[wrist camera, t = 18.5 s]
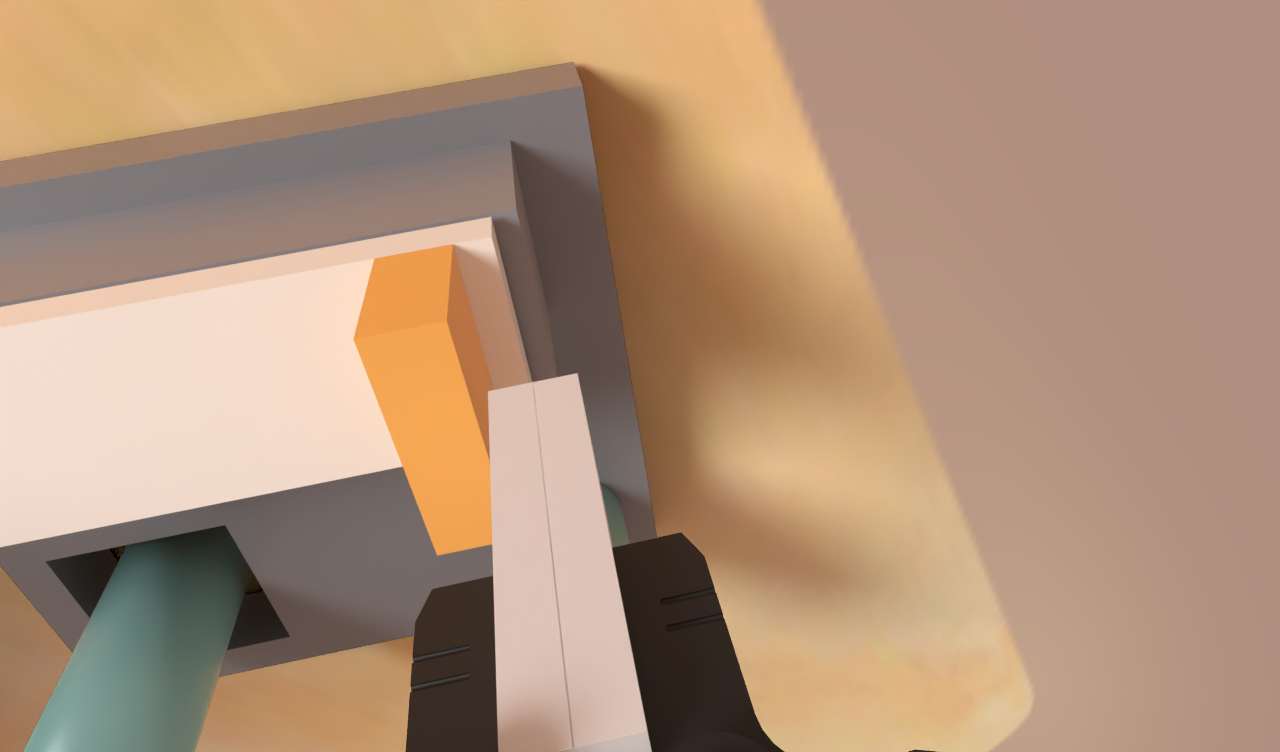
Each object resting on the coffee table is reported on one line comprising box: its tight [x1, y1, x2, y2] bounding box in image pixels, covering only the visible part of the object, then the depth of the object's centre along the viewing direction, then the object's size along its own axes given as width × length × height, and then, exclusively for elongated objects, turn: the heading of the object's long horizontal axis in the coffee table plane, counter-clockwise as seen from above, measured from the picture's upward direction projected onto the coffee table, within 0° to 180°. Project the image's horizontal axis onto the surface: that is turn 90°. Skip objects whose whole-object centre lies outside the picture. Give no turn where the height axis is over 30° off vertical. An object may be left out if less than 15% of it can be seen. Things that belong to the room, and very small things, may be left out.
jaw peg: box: [23, 525, 252, 752], centre depth 25 cm, size 4×4×10 cm
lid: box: [0, 217, 532, 556], centre depth 16 cm, size 16×5×4 cm, turn 97°
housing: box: [0, 62, 657, 677], centre depth 21 cm, size 20×18×12 cm
